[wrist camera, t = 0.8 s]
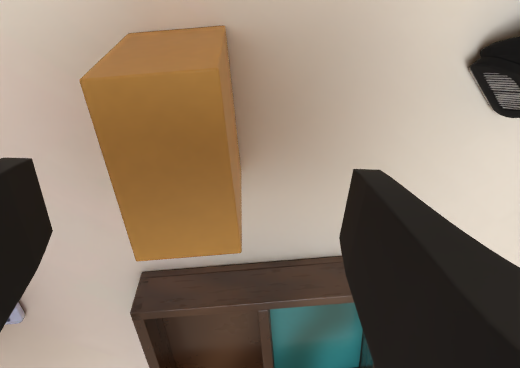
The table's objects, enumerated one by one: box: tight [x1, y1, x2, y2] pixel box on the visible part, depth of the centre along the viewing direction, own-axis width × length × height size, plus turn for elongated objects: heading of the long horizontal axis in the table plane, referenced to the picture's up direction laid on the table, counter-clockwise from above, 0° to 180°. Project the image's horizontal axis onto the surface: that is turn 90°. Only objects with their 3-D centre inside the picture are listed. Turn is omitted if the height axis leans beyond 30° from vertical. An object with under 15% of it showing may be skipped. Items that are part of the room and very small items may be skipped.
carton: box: [80, 26, 242, 261], centre depth 16 cm, size 4×7×6 cm, turn 4°
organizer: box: [130, 256, 375, 368], centre depth 25 cm, size 14×11×3 cm
